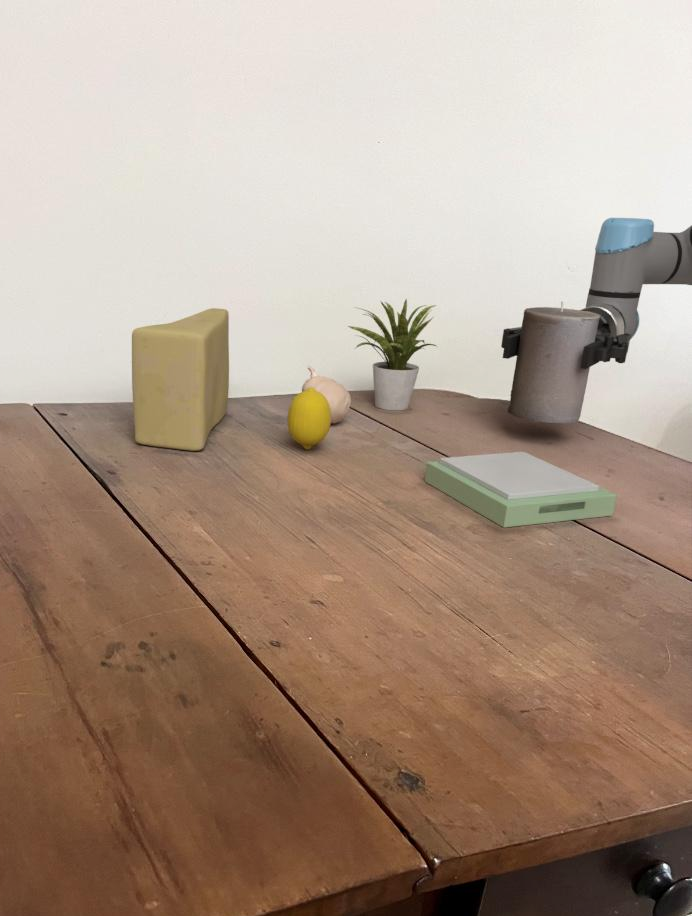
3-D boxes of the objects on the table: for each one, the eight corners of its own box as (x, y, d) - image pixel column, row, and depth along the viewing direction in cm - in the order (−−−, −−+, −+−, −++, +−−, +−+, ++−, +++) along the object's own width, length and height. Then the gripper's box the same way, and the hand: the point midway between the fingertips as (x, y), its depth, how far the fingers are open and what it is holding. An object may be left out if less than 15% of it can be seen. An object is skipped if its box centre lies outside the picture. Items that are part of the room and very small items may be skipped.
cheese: (191, 408, 137) (192, 304, 131) (253, 415, 135) (257, 309, 128) (130, 444, 118) (128, 324, 112) (201, 453, 116) (203, 331, 109)
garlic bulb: (327, 415, 136) (331, 360, 133) (356, 425, 131) (361, 368, 128) (292, 420, 132) (295, 364, 129) (321, 431, 128) (325, 373, 124)
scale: (612, 515, 99) (618, 489, 98) (503, 528, 95) (508, 500, 93) (523, 472, 113) (527, 448, 112) (424, 481, 108) (427, 456, 107)
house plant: (383, 390, 153) (393, 288, 146) (455, 405, 144) (470, 297, 137) (330, 403, 143) (338, 293, 136) (404, 420, 135) (416, 304, 128)
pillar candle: (492, 411, 127) (509, 298, 121) (540, 404, 132) (558, 295, 126) (548, 427, 120) (569, 308, 114) (596, 419, 125) (619, 304, 119)
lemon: (304, 457, 116) (308, 394, 112) (277, 447, 120) (280, 385, 116) (337, 451, 119) (342, 389, 115) (309, 441, 123) (313, 381, 119)
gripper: (664, 368, 132) (627, 394, 115) (514, 350, 143) (460, 370, 126) (676, 314, 129) (640, 332, 112) (521, 299, 140) (467, 314, 123)
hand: (545, 352), depth 119 cm, fingers closed on pillar candle, 9 cm apart
